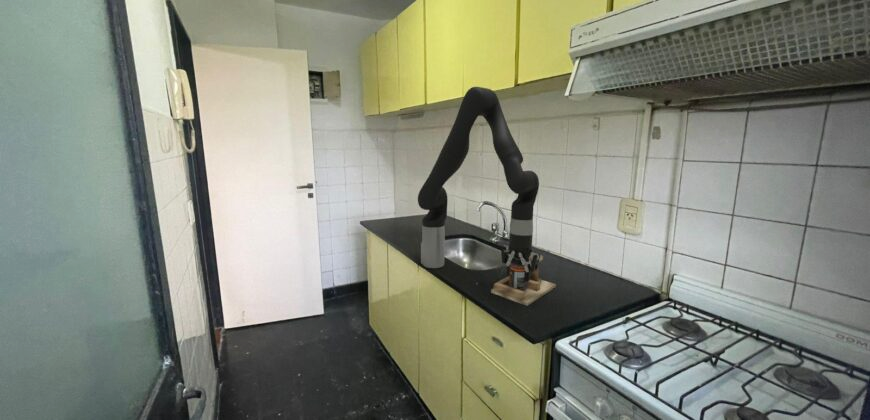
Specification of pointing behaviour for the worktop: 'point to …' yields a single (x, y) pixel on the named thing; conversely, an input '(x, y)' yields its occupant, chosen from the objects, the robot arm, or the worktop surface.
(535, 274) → the bobbin post
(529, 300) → the notched board
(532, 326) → the worktop surface
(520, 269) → the supplement bottle
